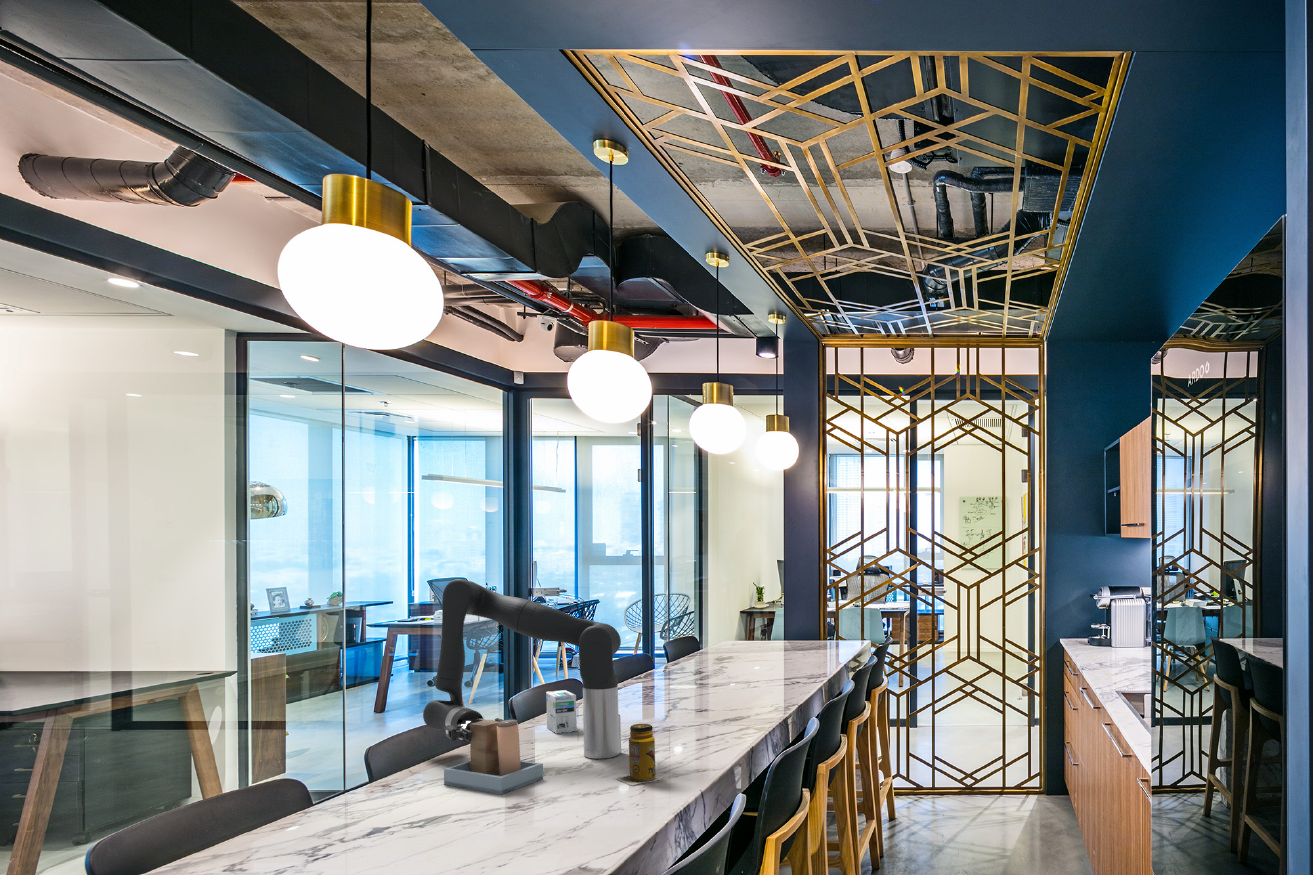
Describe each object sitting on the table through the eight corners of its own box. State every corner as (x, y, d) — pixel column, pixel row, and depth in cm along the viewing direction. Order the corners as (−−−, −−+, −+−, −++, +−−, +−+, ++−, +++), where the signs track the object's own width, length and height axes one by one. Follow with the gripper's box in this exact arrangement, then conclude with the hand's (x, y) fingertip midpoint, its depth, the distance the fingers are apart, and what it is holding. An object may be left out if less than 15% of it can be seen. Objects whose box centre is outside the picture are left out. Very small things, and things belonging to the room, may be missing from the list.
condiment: (663, 779, 193) (661, 725, 195) (631, 786, 188) (630, 730, 190) (645, 773, 199) (644, 720, 201) (615, 779, 194) (614, 725, 196)
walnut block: (485, 771, 202) (485, 719, 203) (500, 774, 199) (500, 721, 200) (470, 776, 198) (470, 723, 199) (485, 779, 195) (485, 725, 196)
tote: (487, 770, 206) (486, 755, 206) (542, 779, 196) (542, 763, 197) (444, 784, 194) (444, 768, 195) (501, 794, 185) (501, 778, 185)
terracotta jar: (515, 774, 197) (511, 718, 199) (525, 777, 194) (521, 720, 195) (496, 779, 194) (492, 722, 196) (505, 782, 190) (502, 724, 192)
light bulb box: (577, 731, 247) (576, 694, 249) (555, 734, 245) (554, 696, 246) (567, 725, 257) (566, 689, 258) (545, 727, 254) (545, 691, 256)
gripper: (436, 711, 209) (458, 721, 195) (490, 704, 216) (515, 713, 203) (436, 743, 208) (458, 755, 194) (491, 734, 215) (515, 745, 202)
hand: (487, 733), depth 199 cm, fingers open, 8 cm apart
